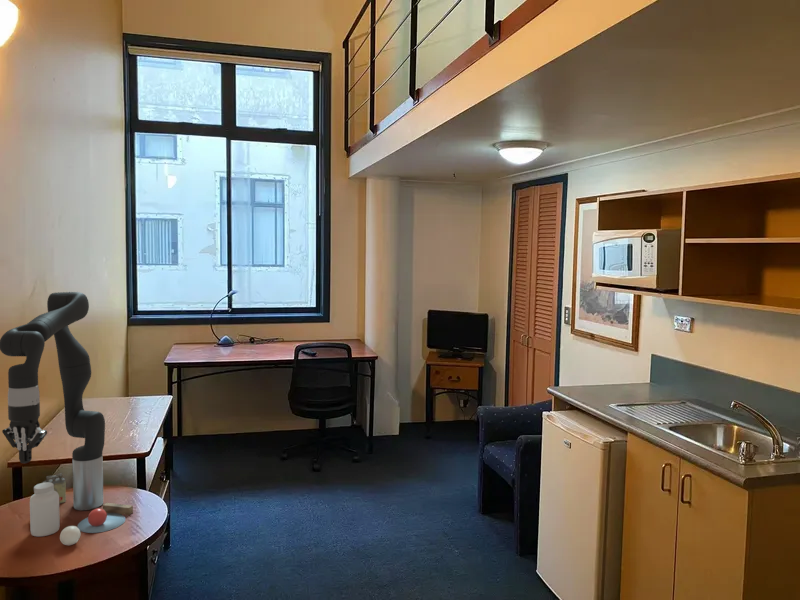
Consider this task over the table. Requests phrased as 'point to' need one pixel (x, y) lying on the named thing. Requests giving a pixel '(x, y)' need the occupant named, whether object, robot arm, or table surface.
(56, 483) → the lighter
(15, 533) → the table surface
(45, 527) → the pill bottle
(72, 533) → the cue ball
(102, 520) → the red ball
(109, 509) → the strip
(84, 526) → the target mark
